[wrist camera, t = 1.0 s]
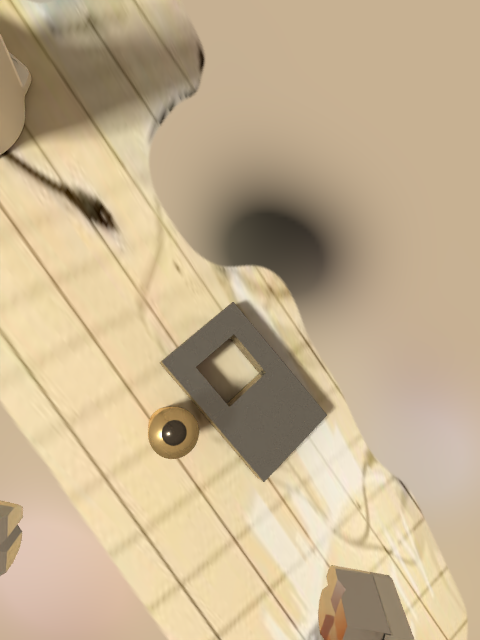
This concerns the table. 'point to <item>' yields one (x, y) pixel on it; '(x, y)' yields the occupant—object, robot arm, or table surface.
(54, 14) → the table surface
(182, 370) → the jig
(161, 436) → the bushing
